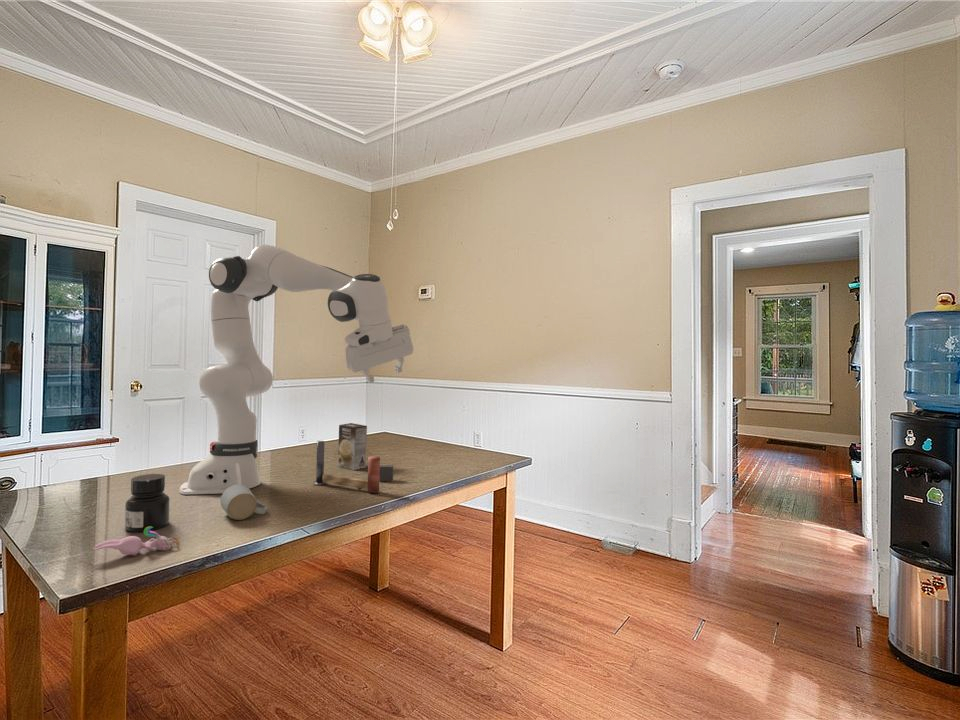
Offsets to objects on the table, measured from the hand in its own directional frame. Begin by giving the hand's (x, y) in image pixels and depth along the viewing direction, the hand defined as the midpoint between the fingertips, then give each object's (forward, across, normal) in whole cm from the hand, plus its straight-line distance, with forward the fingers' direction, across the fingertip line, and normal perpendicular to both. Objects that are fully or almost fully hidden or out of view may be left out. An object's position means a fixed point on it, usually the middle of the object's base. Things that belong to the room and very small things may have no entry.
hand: (385, 377), depth 140 cm
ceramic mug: (+26, +45, -6) cm, 52 cm away
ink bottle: (+21, +64, -11) cm, 69 cm away
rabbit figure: (+17, +67, +6) cm, 70 cm away
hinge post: (+36, +19, -23) cm, 47 cm away
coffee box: (+44, +2, -37) cm, 58 cm away
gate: (+36, +13, -12) cm, 40 cm away
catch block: (+41, 0, -14) cm, 43 cm away
